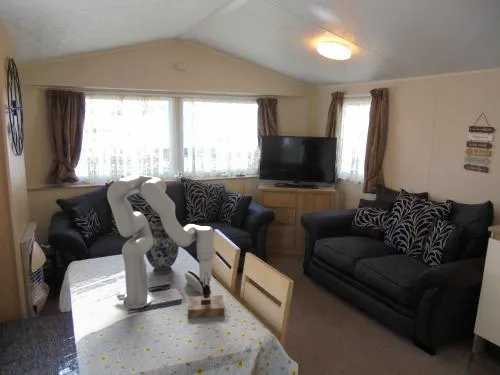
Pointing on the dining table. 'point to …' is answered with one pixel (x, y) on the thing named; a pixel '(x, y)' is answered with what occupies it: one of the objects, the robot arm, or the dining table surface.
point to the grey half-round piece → (194, 280)
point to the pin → (206, 295)
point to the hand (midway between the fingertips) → (206, 292)
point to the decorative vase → (161, 250)
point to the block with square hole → (205, 306)
